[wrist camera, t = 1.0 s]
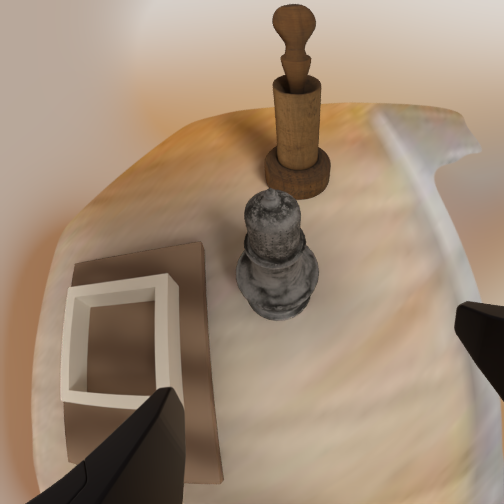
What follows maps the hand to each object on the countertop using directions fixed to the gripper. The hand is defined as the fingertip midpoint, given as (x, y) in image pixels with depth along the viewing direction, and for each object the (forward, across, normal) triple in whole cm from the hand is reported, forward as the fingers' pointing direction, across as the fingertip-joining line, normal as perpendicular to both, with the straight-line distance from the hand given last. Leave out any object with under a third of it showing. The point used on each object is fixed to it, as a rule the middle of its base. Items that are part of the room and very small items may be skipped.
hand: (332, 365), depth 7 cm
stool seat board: (+13, +13, +7) cm, 20 cm away
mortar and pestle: (+24, -5, -4) cm, 25 cm away
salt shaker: (+16, 0, +4) cm, 16 cm away
